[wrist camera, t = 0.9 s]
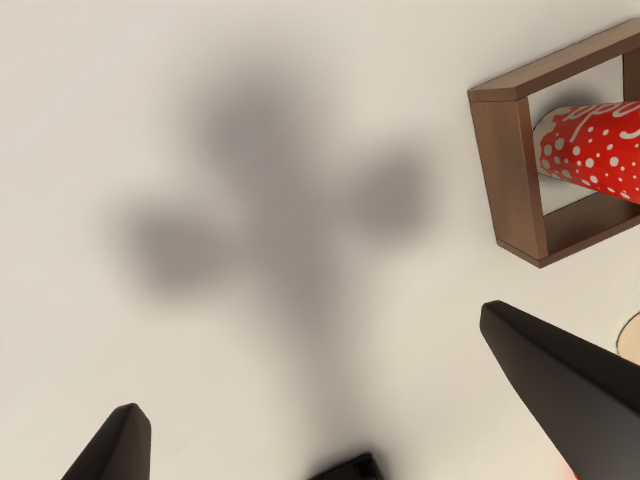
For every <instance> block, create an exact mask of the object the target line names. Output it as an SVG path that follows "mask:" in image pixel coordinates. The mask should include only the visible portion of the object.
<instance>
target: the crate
mask: <svg viewBox="0 0 640 480" xmlns="http://www.w3.org/2000/svg"><path fill="white" fill-rule="evenodd" d="M621 54H623V55H624V102H633V101H640V17H638V18H634V19H631V20H629V21H626V22H624V23H622V24H619V25H617V26H615V27H613V28H610V29H608V30H606V31H603V32H601V33H599V34H597V35H594V36H592V37H590V38H587V39H585V40H583V41H580V42H578V43H576V44H574V45H571V46H569V47H567V48H564V49H562V50H560V51H558V52H555V53H553V54H551V55H548V56H546V57H544V58H542V59H539V60H537V61H535V62H532V63H530V64H528V65H525V66H523V67H521V68H519V69H516V70H514V71H512V72H509V73H507V74H505V75H503V76H500V77H498V78H496V79H493V80H491V81H489V82H487V83H484V84H482V85H480V86H477V87H475V88H473V89H471V90H468V96H469V101H470V106H471V111H472V116H473V121H474V126H475V131H476V136H477V141H478V147H479V152H480V157H481V162H482V167H483V172H484V177H485V182H486V187H487V193H488V198H489V203H490V208H491V213H492V218H493V223H494V228H495V233H496V237H497V243H498V245H499V246H500V247H502V248H504V249H506V250H507V251H509V252H511V253H513V254H514V255H516V256H518V257H520V258H522V259H523V260H525V261H527V262H529V263H530V264H532V265H534V266H536V267H537V268H539V269H541V268H543V267H545V266H548V265H550V264H552V263H554V262H557V261H559V260H561V259H563V258H565V257H568V256H570V255H572V254H574V253H576V252H579V251H581V250H583V249H585V248H588V247H590V246H592V245H594V244H596V243H599V242H601V241H603V240H605V239H608V238H610V237H612V236H614V235H616V234H619V233H621V232H623V231H625V230H628V229H630V228H632V227H634V226H636V225H639V224H640V205H639V204H636V203H633V202H630V201H627V200H624V199H620V198H617V197H614V196H611V195H608V194H605V193H602V192H598V193H595V194H593V195H591V196H589V197H587V198H584V199H582V200H580V201H578V202H575V203H573V204H571V205H569V206H566V207H564V208H562V209H560V210H557V211H555V212H553V213H551V214H549V215H546V216H544V217H543V212H542V204H541V197H540V189H539V181H538V174H537V166H536V158H535V151H534V143H533V135H532V127H531V120H530V112H529V104H528V97H527V96H528V95H530V94H532V93H535V92H537V91H539V90H542V89H544V88H546V87H548V86H551V85H553V84H555V83H558V82H560V81H562V80H564V79H567V78H569V77H571V76H574V75H576V74H578V73H580V72H583V71H585V70H587V69H589V68H592V67H594V66H596V65H599V64H601V63H603V62H605V61H608V60H610V59H612V58H615V57H617V56H619V55H621Z"/></svg>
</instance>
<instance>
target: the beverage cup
mask: <svg viewBox="0 0 640 480" xmlns="http://www.w3.org/2000/svg"><path fill="white" fill-rule="evenodd" d="M532 135H533V143H534V151H535V158H536V166H537V171H538V172H539V173H542V174H545V175H548V176H551V177H554V178H558V179H561V180H564V181H567V182H570V183H573V184H576V185H580V186H583V187H586V188H589V189H592V190H595V191H598V192H602V193H605V194H608V195H611V196H614V197H617V198H620V199H624V200H627V201H630V202H633V203H636V204H639V205H640V101H633V102H620V103H607V104H594V105H581V106H569V107H561V108H557V109H555V110H554V111H552V112H550V113H548V114H547V115H545V117H544V118H543V119H542V120H541V121H540V122H539V123H538V125H537V126H536V128H535V130H534V132H533V134H532Z"/></svg>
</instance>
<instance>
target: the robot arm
mask: <svg viewBox="0 0 640 480" xmlns="http://www.w3.org/2000/svg"><path fill="white" fill-rule="evenodd" d="M480 330H481V333H482V335H483V337H484V338H485V340H486V342H487V344H488V345H489V347H490V349H491V351H492V352H493V354H494V356H495V358H496V359H497V361H498V363H499V365H500V366H501V368H502V370H503V371H504V373H505V375H506V377H507V378H508V380H509V382H510V383H511V385H512V386H513V388H514V389H515V391H516V392H517V394H518V395H519V397H520V398H521V399H522V401H523V402H524V404H525V405H526V406H527V408H528V409H529V410H530V412H531V413H532V415H533V416H534V417H535V419H536V420H537V422H538V423H539V424H540V426H541V427H542V429H543V430H544V431H545V433H546V434H547V436H548V437H549V438H550V440H551V441H552V442H553V444H554V445H555V447H556V448H557V449H558V451H559V452H560V454H561V455H562V456H563V458H564V459H565V461H566V462H567V463H568V465H569V466H570V468H571V469H572V470H573V472H574V473H575V474H576V476H577V477H578V479H579V480H640V365H637V364H635V363H633V362H631V361H629V360H627V359H625V358H622V357H620V356H618V355H616V354H614V353H612V352H610V351H607V350H605V349H603V348H601V347H599V346H597V345H595V344H592V343H590V342H588V341H586V340H584V339H582V338H579V337H577V336H575V335H573V334H571V333H569V332H567V331H564V330H562V329H560V328H558V327H556V326H554V325H552V324H549V323H547V322H545V321H543V320H541V319H539V318H537V317H534V316H532V315H530V314H528V313H526V312H524V311H522V310H519V309H517V308H515V307H513V306H511V305H509V304H507V303H504V302H502V301H499V300H495V301H491V302H488V303H485V304H483V306H482V309H481V317H480ZM150 453H151V424H150V421H149V419H148V418H147V417H146V415H145V414H144V413H143V412H142V410H141V409H140V408H139V406H138V405H137V404H135V403H130V404H126V405H123V406H119V407H117V408H116V409H115V410H114V411H113V412H112V413H111V414H110V416H109V417H108V418H107V420H106V421H105V422H104V424H103V425H102V426H101V428H100V429H99V430H98V432H97V433H96V434H95V435H94V437H93V438H92V439H91V441H90V442H89V443H88V445H87V446H86V447H85V449H84V450H83V451H82V453H81V454H80V455H79V456H78V458H77V459H76V460H75V462H74V463H73V464H72V466H71V467H70V468H69V470H68V471H67V472H66V474H65V475H64V476H63V478H62V479H61V480H149V477H150ZM310 480H385V479H384V477H383V475H382V473H381V471H380V469H379V467H378V465H377V463H376V461H375V459H374V457H373V455H372V454H370V453H369V454H365V455H363V456H361V457H358V458H356V459H354V460H352V461H350V462H347V463H345V464H343V465H341V466H339V467H336V468H334V469H332V470H330V471H328V472H326V473H323V474H321V475H319V476H317V477H315V478H312V479H310Z"/></svg>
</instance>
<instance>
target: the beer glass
mask: <svg viewBox="0 0 640 480" xmlns="http://www.w3.org/2000/svg"><path fill="white" fill-rule="evenodd" d="M618 352H619V355H620V356H621V357H622V358H625V359H627V360H629V361H631V362H633V363H635V364H637V365H640V313H639V314H638V315H636V316H635V317H634V318H633V319H632V320H631V321H630V322H629V323H628V324H627V325H626V326H625V328H624V329H623V331H622V332H621V334H620V337H619V340H618Z"/></svg>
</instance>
